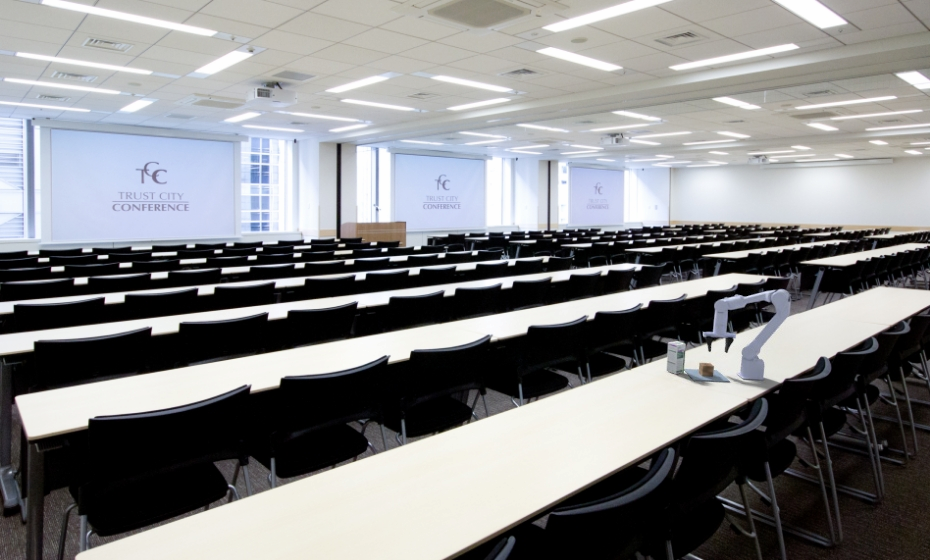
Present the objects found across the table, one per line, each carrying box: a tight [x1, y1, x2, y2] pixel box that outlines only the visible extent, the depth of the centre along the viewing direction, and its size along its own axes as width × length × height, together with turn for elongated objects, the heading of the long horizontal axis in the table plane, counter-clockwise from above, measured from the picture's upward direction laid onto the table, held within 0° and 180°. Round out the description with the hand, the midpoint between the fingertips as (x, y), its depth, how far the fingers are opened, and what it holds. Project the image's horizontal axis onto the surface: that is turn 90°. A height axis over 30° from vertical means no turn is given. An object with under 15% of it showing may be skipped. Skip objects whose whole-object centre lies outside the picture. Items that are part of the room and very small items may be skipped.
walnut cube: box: [698, 362, 715, 377], centre depth 273 cm, size 5×5×5 cm
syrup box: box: [666, 340, 687, 375], centre depth 278 cm, size 6×6×14 cm
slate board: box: [684, 368, 731, 383], centre depth 274 cm, size 16×16×1 cm
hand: (717, 351), depth 281 cm, fingers open, 7 cm apart
